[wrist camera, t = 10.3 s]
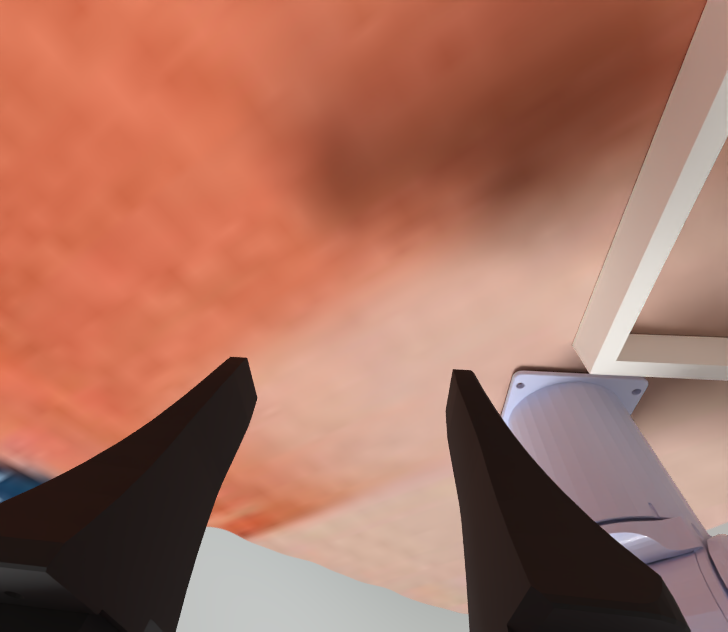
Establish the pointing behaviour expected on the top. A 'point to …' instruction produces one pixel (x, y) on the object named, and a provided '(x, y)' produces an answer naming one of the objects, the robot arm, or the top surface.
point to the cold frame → (663, 222)
